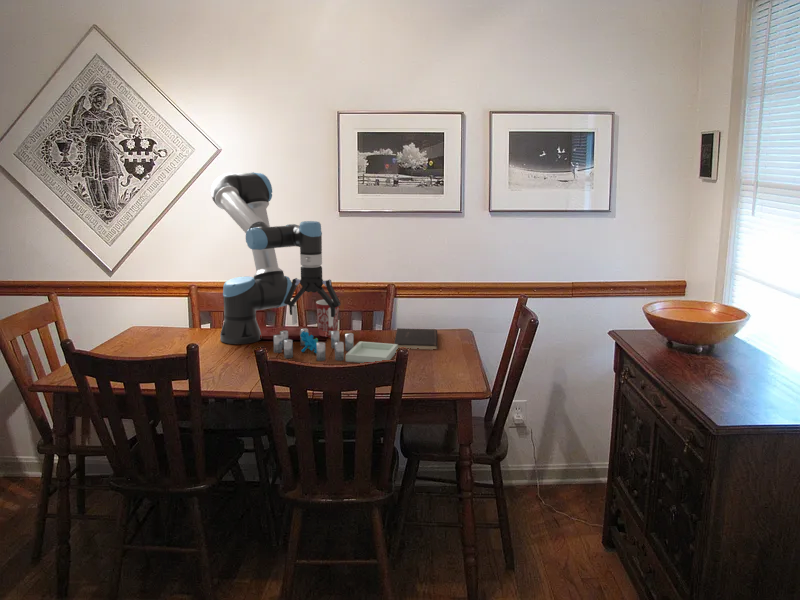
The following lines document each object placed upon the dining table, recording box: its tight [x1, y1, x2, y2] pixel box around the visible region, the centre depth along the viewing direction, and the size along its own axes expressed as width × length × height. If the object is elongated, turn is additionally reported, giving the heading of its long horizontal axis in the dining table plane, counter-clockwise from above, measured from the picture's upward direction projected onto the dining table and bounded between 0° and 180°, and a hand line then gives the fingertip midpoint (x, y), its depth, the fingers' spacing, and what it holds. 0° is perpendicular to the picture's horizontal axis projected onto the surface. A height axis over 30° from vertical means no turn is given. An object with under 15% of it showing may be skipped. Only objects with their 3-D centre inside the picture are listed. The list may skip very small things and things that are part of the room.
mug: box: [315, 299, 340, 339], centre depth 282 cm, size 13×9×14 cm
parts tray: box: [345, 340, 399, 364], centre depth 255 cm, size 14×17×2 cm
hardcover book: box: [393, 327, 438, 350], centre depth 276 cm, size 16×23×2 cm
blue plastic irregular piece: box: [299, 331, 319, 355], centre depth 259 cm, size 11×6×10 cm
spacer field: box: [272, 327, 354, 362], centre depth 259 cm, size 27×19×6 cm
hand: (312, 324), depth 257 cm, fingers open, 13 cm apart
